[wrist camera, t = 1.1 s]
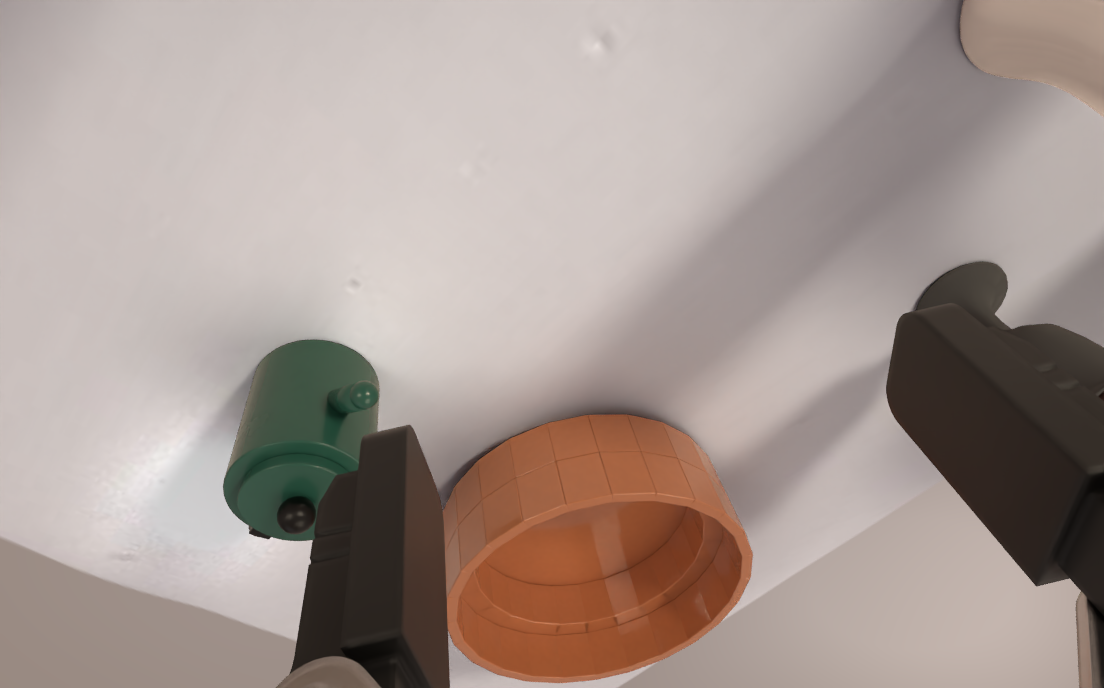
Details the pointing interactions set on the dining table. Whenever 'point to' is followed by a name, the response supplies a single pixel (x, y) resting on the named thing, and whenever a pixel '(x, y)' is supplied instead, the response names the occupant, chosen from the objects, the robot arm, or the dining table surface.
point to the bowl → (590, 550)
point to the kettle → (299, 435)
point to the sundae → (984, 294)
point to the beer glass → (1039, 43)
